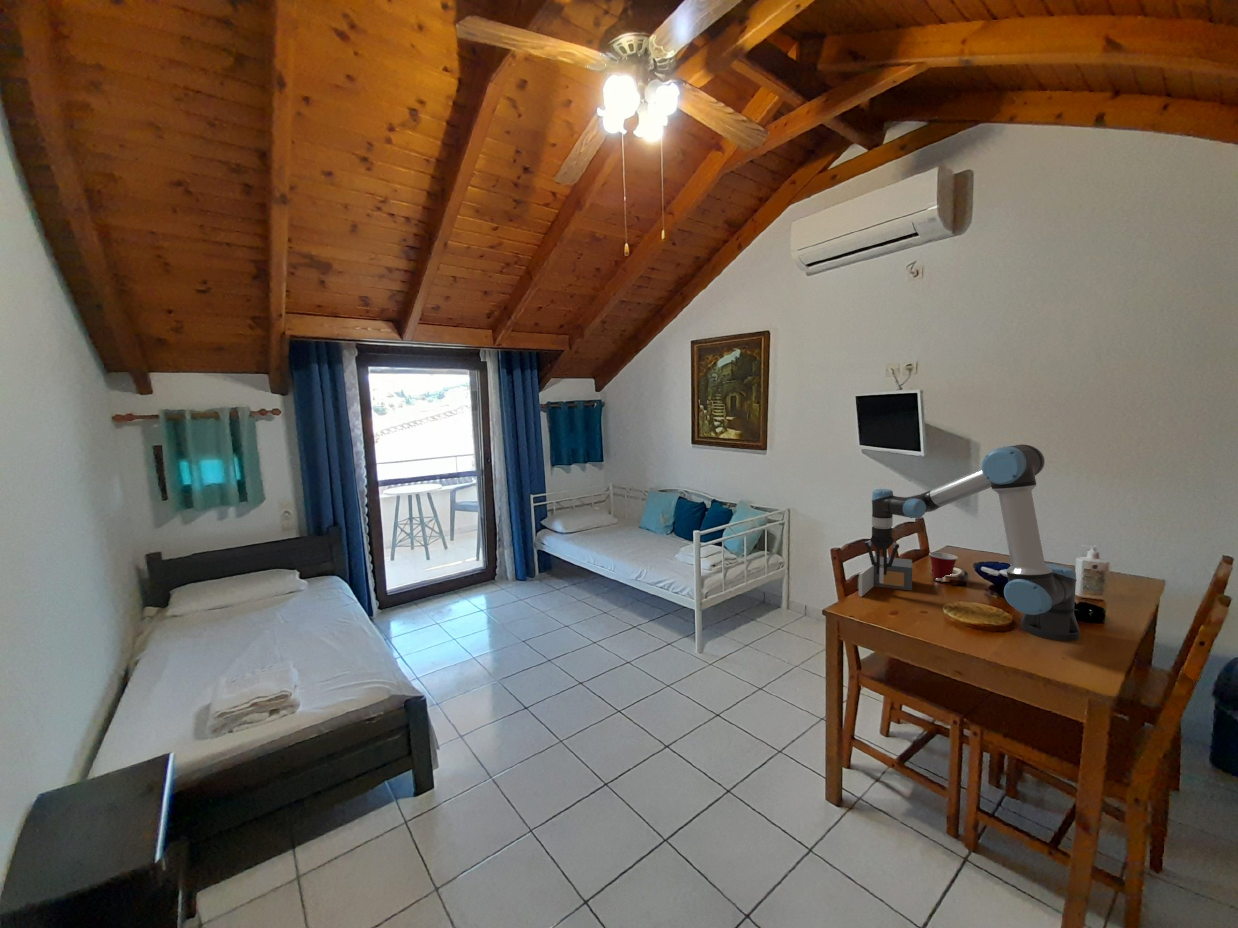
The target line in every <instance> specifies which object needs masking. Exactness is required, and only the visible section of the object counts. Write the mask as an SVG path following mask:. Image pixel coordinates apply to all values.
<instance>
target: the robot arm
mask: <svg viewBox="0 0 1238 928" xmlns="http://www.w3.org/2000/svg"><path fill="white" fill-rule="evenodd" d="M1045 463H1046V462H1045V457H1044V454H1043V452H1042V451H1040V450H1039V449H1038V448H1037V447H1035V446H1032V445H1030V444H1029V445H1028V444H1016V445H1009V446H1007V445H1006V446H1002V447H998V448H995V449H993V450H990V452H988V453H987V454H986V455H985V456H984V457H983V459H982V462H981V468H979V469H977V470H974V471H972V472H969V473H967V474H964V475H962V476H960V477H957V478H956V479H953V480H951V481H948V482H946V483H944V484H942V485H940V486H937V487H934V488H933V489H930V490H928V491H925V492H923V493H921V494H916V495H911V496H905V497H904V496H897V495H894V491H893V490H892V489H889V488H888V489H887V488H877V489H874V490H873V491H872V497H871V506H872V507H871V508H872V509H871V537H870V539H869V540H868V541H867V540H865V542H864V545H865V547H866V549H867V551H868V556H869V559H870V564H872V565H874V566H876V573H877V574H879V583H883V582H884V575H887V567H891V566H892V564H893V560H894V558H896V557H895V556H896V553H897V551H898V549H899V548H900V544H899V543H897V542H896V541H895V540H894V539H893V520H894V519H893V518H894V517H893V515H894V516H899V517H900V516H901V517H905V518H910V519H921V518H922V517H923V516H924V515H925V513H931V512H934V511H936V510H938V509H940V508H943V507H945V506H948V505H949V504H952V503H954V502H958V501H959V500H963V499H965V498H967V497H971V496H972V495H975V494H978V493H980V492H982V491H986V490H987V489H990V488H991V490H992V491H994V492H996V493H997V494H998V498H999V503H1000V509H1001V514H1002V521H1003V527H1004V534H1005V538H1006V542H1007V543H1006V544H1007V550H1008V554H1009V561H1010V566H1009V567H1008V568H1007V569H1006V575H1007V583H1006V584H1005V585H1004V587H1003V588H1004V589H1003V596H1004V599H1005V600H1006V602H1007V603H1008V604H1009V605H1010V606H1011V607H1013V609H1015V610H1016V611H1018V612H1019V613H1022V614H1023V615H1022V616H1021V621H1020V626H1021V628H1022V629H1023V630H1024V631H1026V632H1027V633H1029V634H1031V635H1034V636H1038V637H1039V638H1044V639H1049V640H1051V641H1059V642H1060V641H1061V642H1075V641H1078V640H1079V639H1080V638H1081V628H1080V626H1079V623H1078V622H1077V619H1076V615H1075V603H1076V602H1075V601H1076V599H1075V598H1076V585H1077V580H1078V579H1077V573H1076V571H1075V570H1074V569H1072V568H1070V567H1066V566H1064V565H1058V564H1053V563H1046V562H1045V557H1044V553H1043V552H1044V551H1043V547H1042V546H1043V545H1042V542H1041V541H1042V540H1041V536H1040V531H1039V525H1038V518H1037V514H1036V508H1035V503H1034V498H1033V489H1035V488H1036V487H1037V480H1036V476H1037V475H1038V474H1039V473H1041V472H1042V470H1043V469H1044V467H1045ZM872 545H873V546H874V547H875V548H876V556H877V562H875V560H874V556H875V555H874V553H873V550H872ZM891 546H892V551H891V554H890V557H889V558H890V560H889V563H887V557H888V549H889V548H890V547H891ZM881 550H883V557H884V566H880V557H881Z"/></svg>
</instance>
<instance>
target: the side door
mask: <svg viewBox="0 0 1238 928" xmlns="http://www.w3.org/2000/svg"><path fill="white" fill-rule="evenodd" d="M874 587H875V586H874V565H872V563H870V564H869V565H868V566H867V567H865V568H864V569H863V570H862V571H860V572H859V573H858V579H857V590H858V597H860V598H861V597H863V596H864V595H865V594H867V593H868V592H869V591H870V590H871V589H873V588H874Z"/></svg>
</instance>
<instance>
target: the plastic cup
mask: <svg viewBox="0 0 1238 928" xmlns="http://www.w3.org/2000/svg"><path fill="white" fill-rule="evenodd" d="M928 555H929V558H930V561H931V570H932V575H933V579H936V578H942V577H944V576H945V575H950V574H952V575H953V572H954V571H953V570H954V568H955V564H956V562H957V560H958V559H959V557H958V556H957V555H955V554H951V553H946V552H938V551H931V552H929V553H928Z"/></svg>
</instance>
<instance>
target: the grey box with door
mask: <svg viewBox="0 0 1238 928" xmlns="http://www.w3.org/2000/svg"><path fill="white" fill-rule="evenodd" d="M873 556H874V560H875V562H877V555H873ZM889 560H890V557H888V556H887V563H889ZM880 566H884V556H880ZM877 586H880V587H879V588H888V589H894V590H902V591H903V590H904V591H911V592H912V591H913V559H908V558H899V557H898V558H897V557H894V560H893V564H892V566H891V567H887V575H884V582H883V583H879V574H877V573H876V566H874V586H873V587H877Z"/></svg>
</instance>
